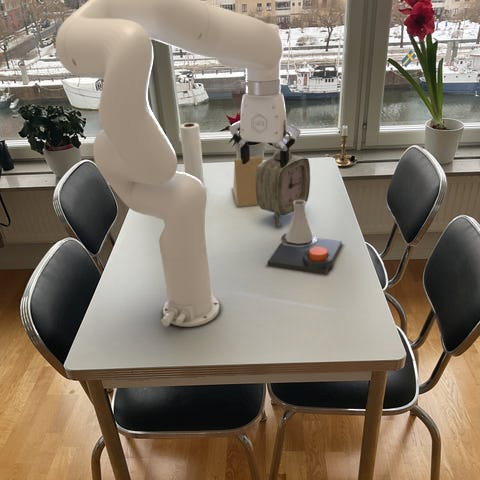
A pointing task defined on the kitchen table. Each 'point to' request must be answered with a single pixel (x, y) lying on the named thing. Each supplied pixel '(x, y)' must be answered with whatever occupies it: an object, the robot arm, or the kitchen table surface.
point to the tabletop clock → (282, 183)
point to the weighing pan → (302, 245)
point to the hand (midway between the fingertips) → (264, 164)
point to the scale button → (318, 253)
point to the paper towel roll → (192, 150)
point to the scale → (305, 257)
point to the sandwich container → (245, 181)
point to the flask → (299, 225)
